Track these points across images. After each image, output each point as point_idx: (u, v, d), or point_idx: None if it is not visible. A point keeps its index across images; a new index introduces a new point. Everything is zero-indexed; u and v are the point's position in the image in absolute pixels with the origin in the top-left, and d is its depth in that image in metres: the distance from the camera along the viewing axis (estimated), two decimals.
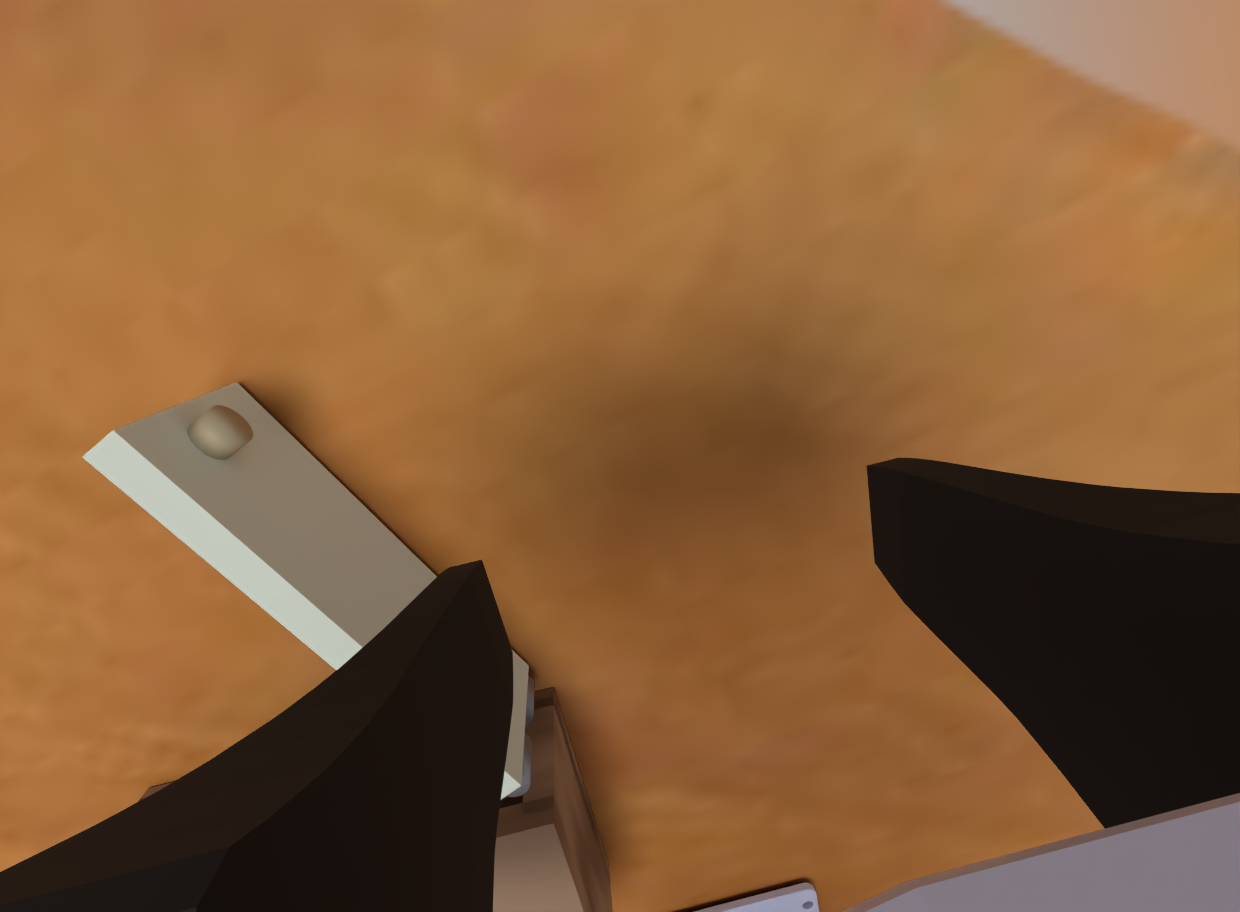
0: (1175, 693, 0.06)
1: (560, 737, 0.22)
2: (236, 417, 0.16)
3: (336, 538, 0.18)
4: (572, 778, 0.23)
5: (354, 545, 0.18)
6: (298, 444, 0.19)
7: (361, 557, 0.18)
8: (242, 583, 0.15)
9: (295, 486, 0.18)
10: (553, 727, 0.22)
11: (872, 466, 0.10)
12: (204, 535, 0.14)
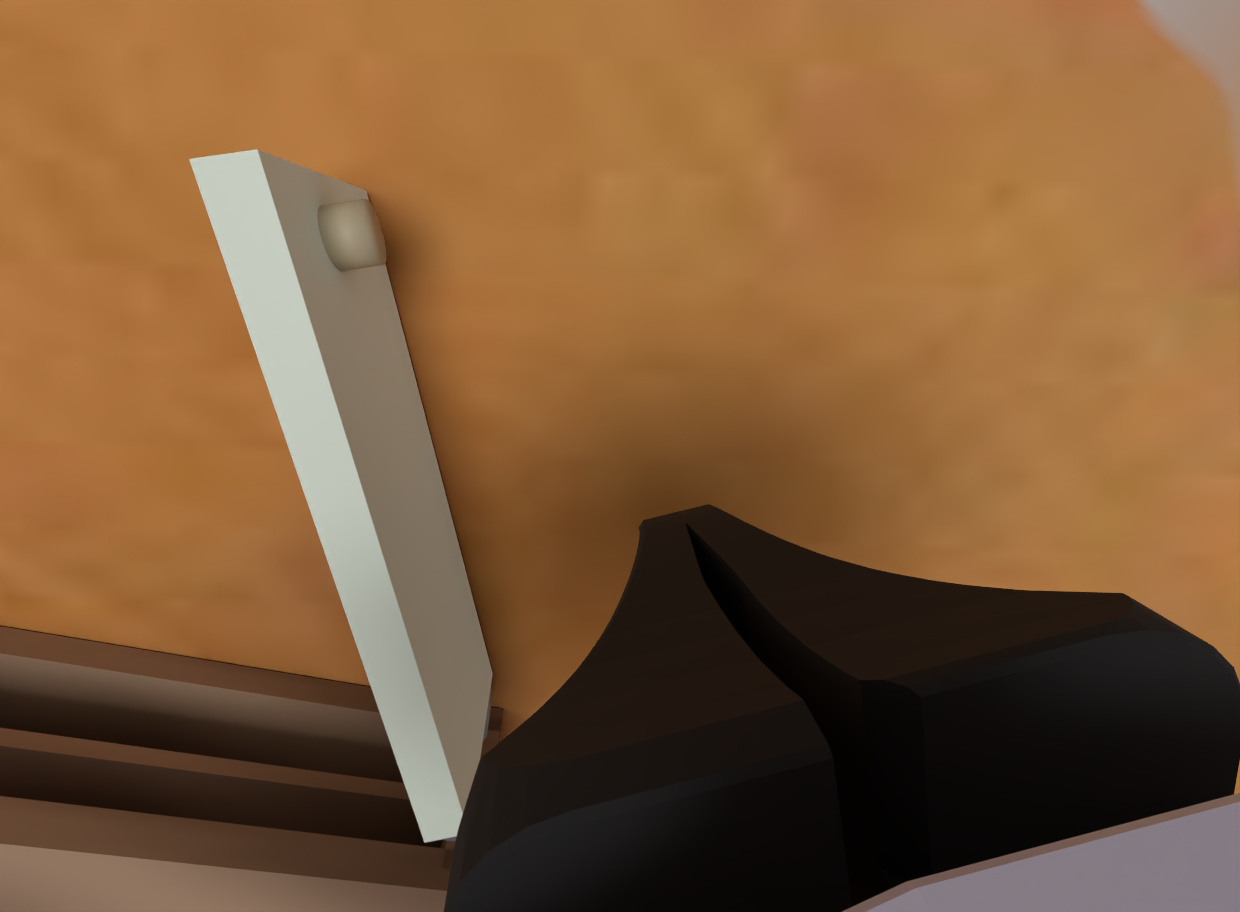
0: None
1: None
2: (378, 228, 0.12)
3: (399, 434, 0.13)
4: None
5: (409, 451, 0.14)
6: (394, 300, 0.15)
7: (411, 470, 0.14)
8: (295, 435, 0.10)
9: (382, 347, 0.13)
10: None
11: (678, 513, 0.10)
12: (286, 350, 0.10)
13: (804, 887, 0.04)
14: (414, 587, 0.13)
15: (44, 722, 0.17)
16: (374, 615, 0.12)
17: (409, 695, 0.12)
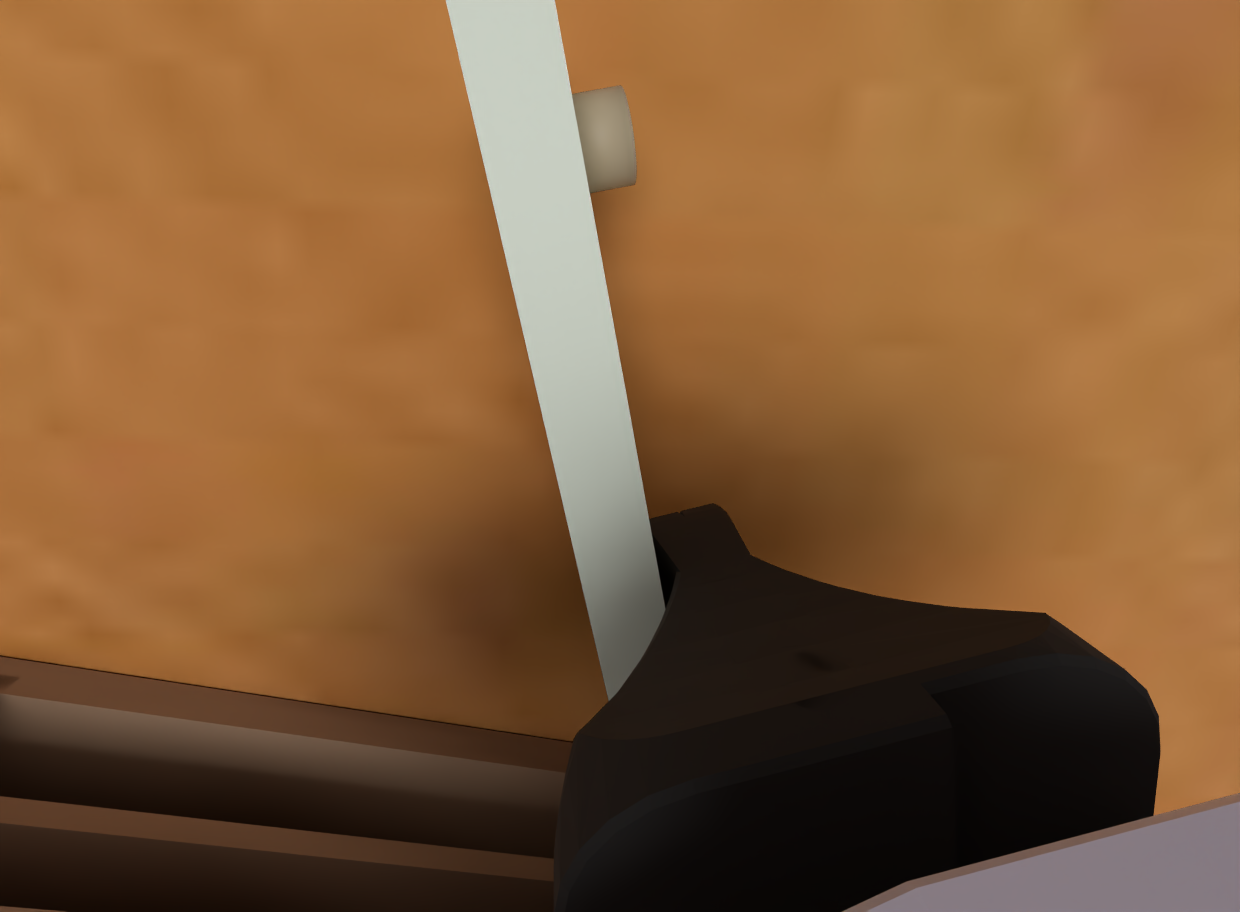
0: None
1: None
2: None
3: None
4: None
5: None
6: None
7: None
8: (560, 426, 0.07)
9: None
10: None
11: None
12: (560, 296, 0.07)
13: (913, 858, 0.04)
14: None
15: (135, 788, 0.13)
16: None
17: None
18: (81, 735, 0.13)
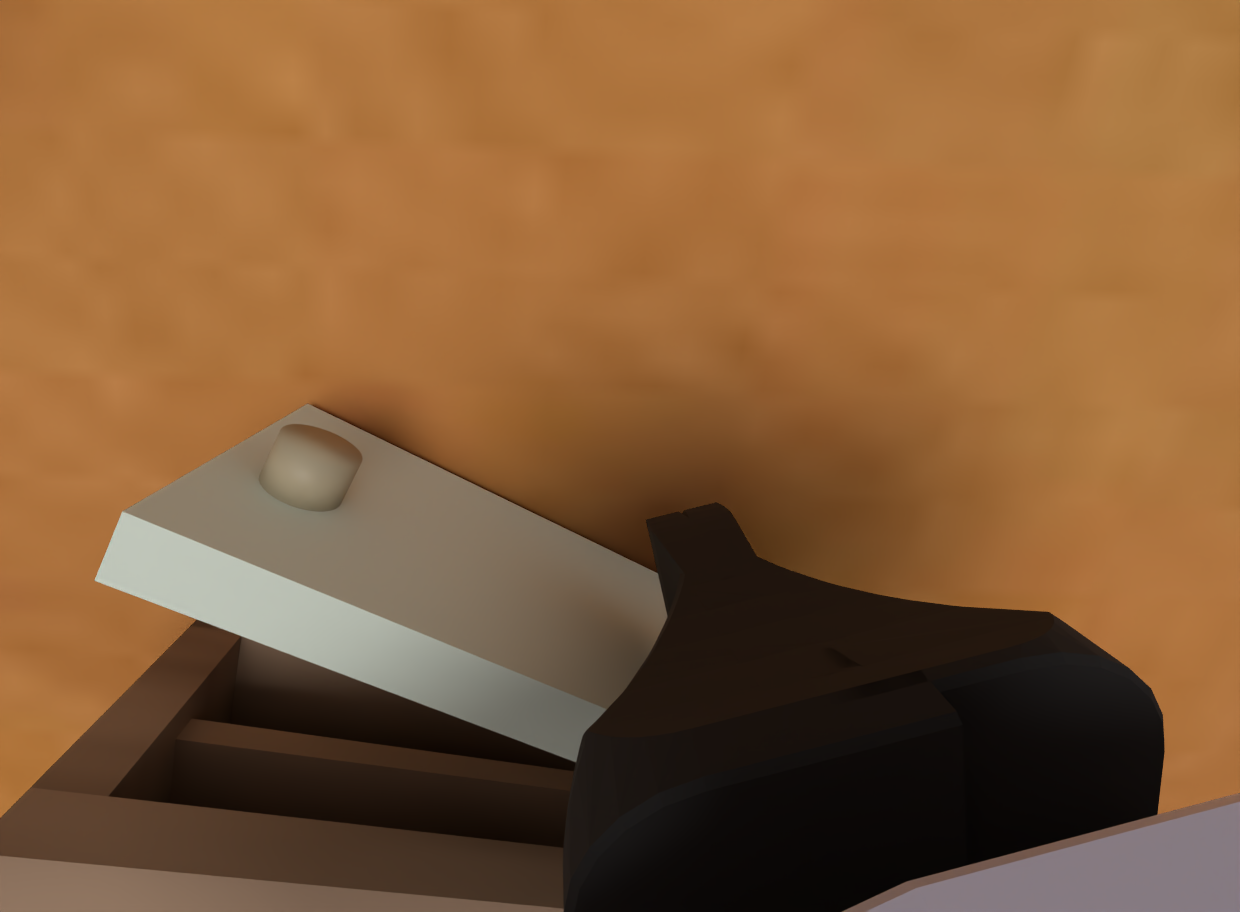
0: None
1: None
2: (325, 436, 0.09)
3: (541, 575, 0.11)
4: None
5: (567, 576, 0.11)
6: (426, 462, 0.13)
7: (585, 590, 0.11)
8: (445, 701, 0.08)
9: (450, 518, 0.11)
10: None
11: (647, 521, 0.10)
12: (353, 643, 0.08)
13: (923, 855, 0.04)
14: None
15: (356, 732, 0.14)
16: None
17: None
18: (311, 678, 0.13)
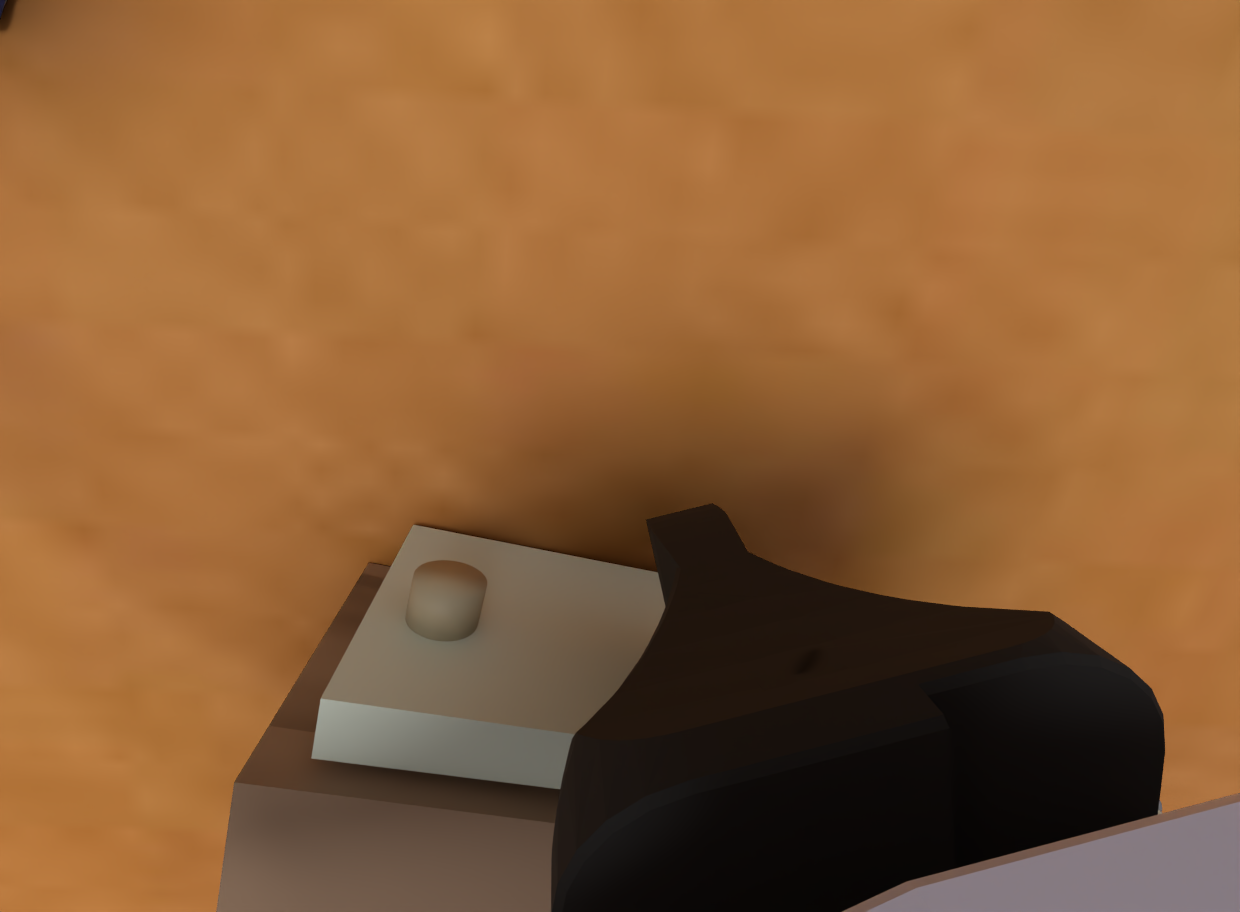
0: None
1: None
2: (449, 566, 0.10)
3: None
4: None
5: None
6: (529, 549, 0.13)
7: None
8: None
9: (570, 603, 0.12)
10: None
11: (647, 521, 0.10)
12: (532, 757, 0.09)
13: (910, 859, 0.04)
14: None
15: None
16: None
17: None
18: None
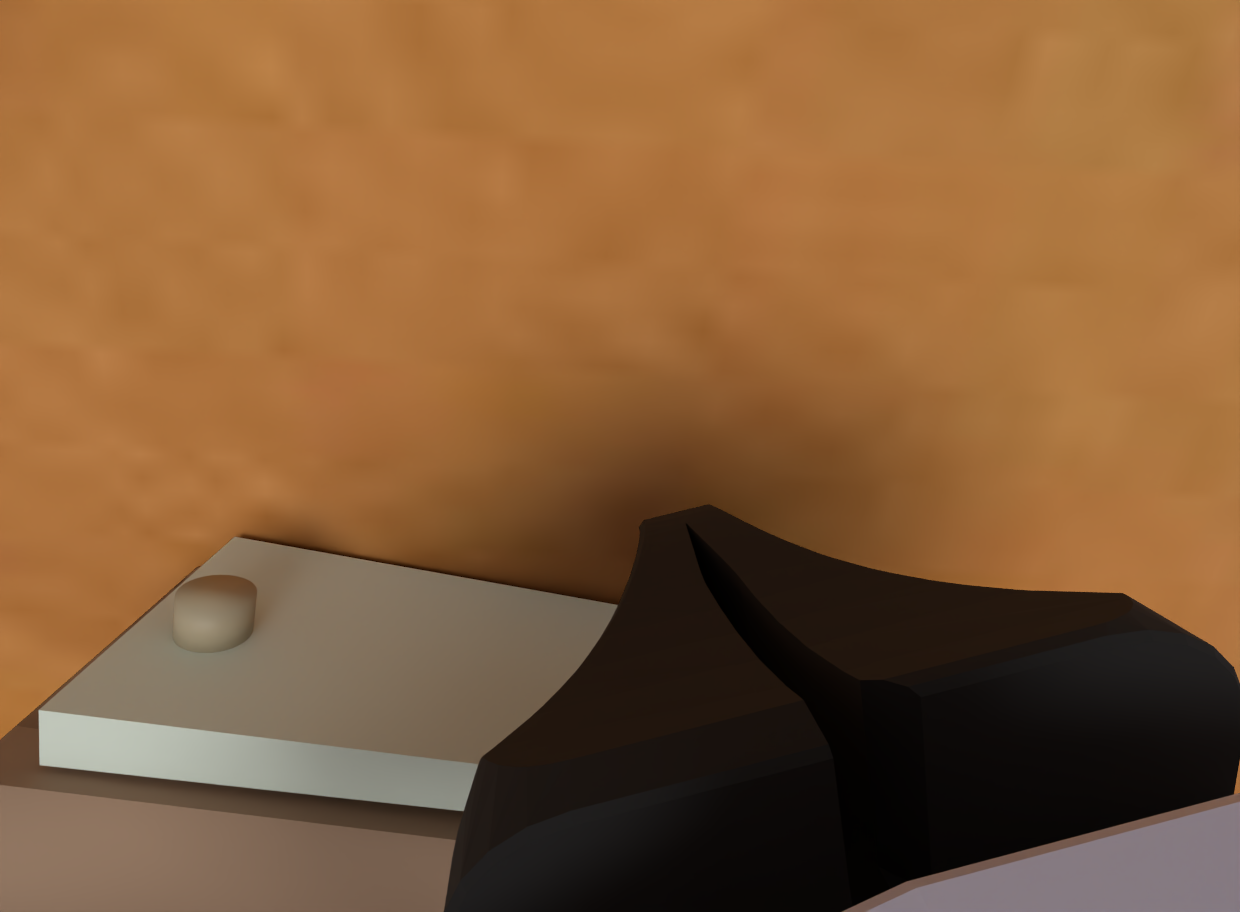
0: None
1: None
2: (223, 581, 0.11)
3: (453, 644, 0.12)
4: None
5: (483, 636, 0.13)
6: (350, 559, 0.14)
7: (500, 645, 0.12)
8: (353, 791, 0.09)
9: (365, 613, 0.12)
10: None
11: (678, 513, 0.10)
12: (259, 763, 0.09)
13: (804, 886, 0.04)
14: None
15: None
16: None
17: None
18: None
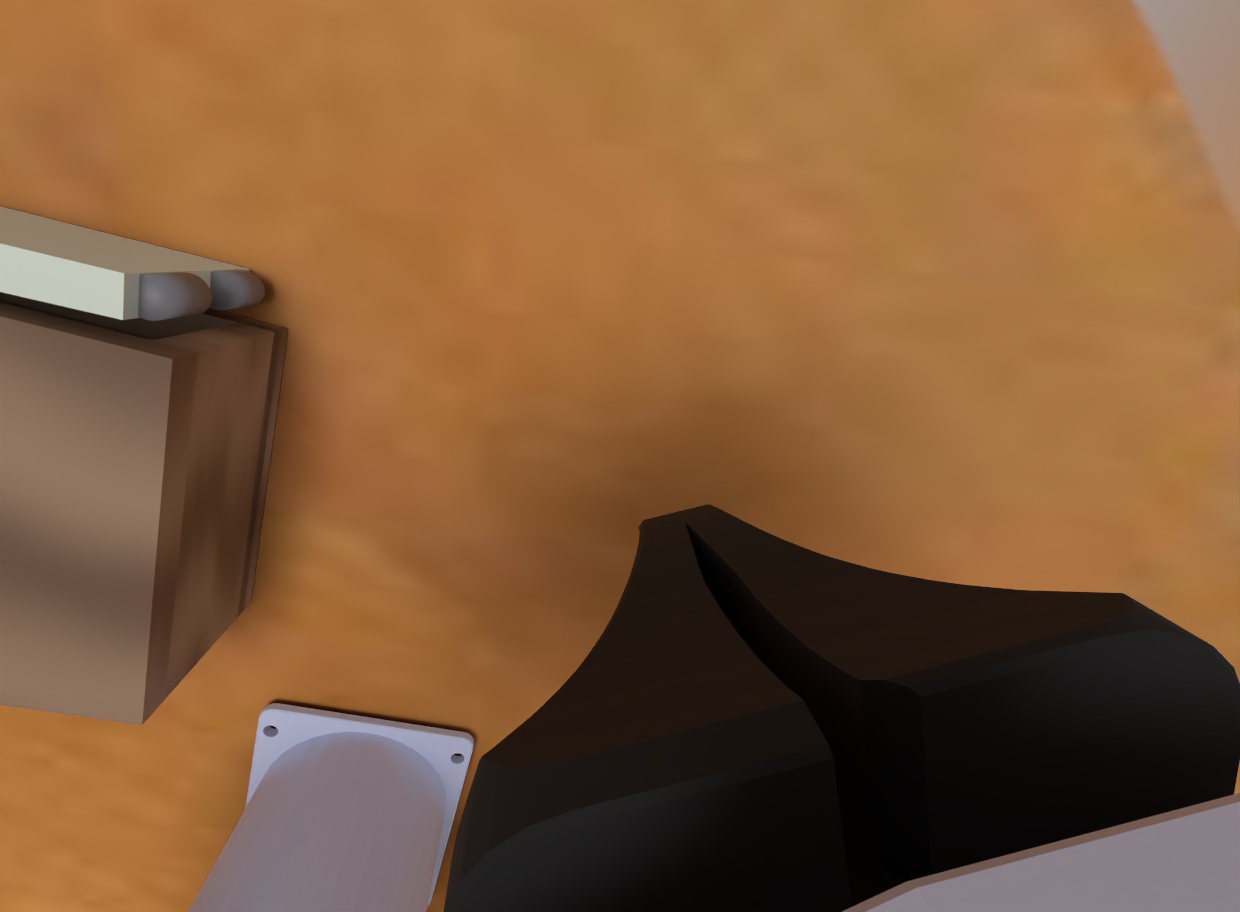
0: None
1: (260, 368, 0.17)
2: None
3: None
4: (251, 430, 0.18)
5: None
6: None
7: None
8: None
9: None
10: (255, 337, 0.17)
11: (678, 514, 0.10)
12: None
13: (803, 887, 0.04)
14: None
15: None
16: None
17: None
18: None
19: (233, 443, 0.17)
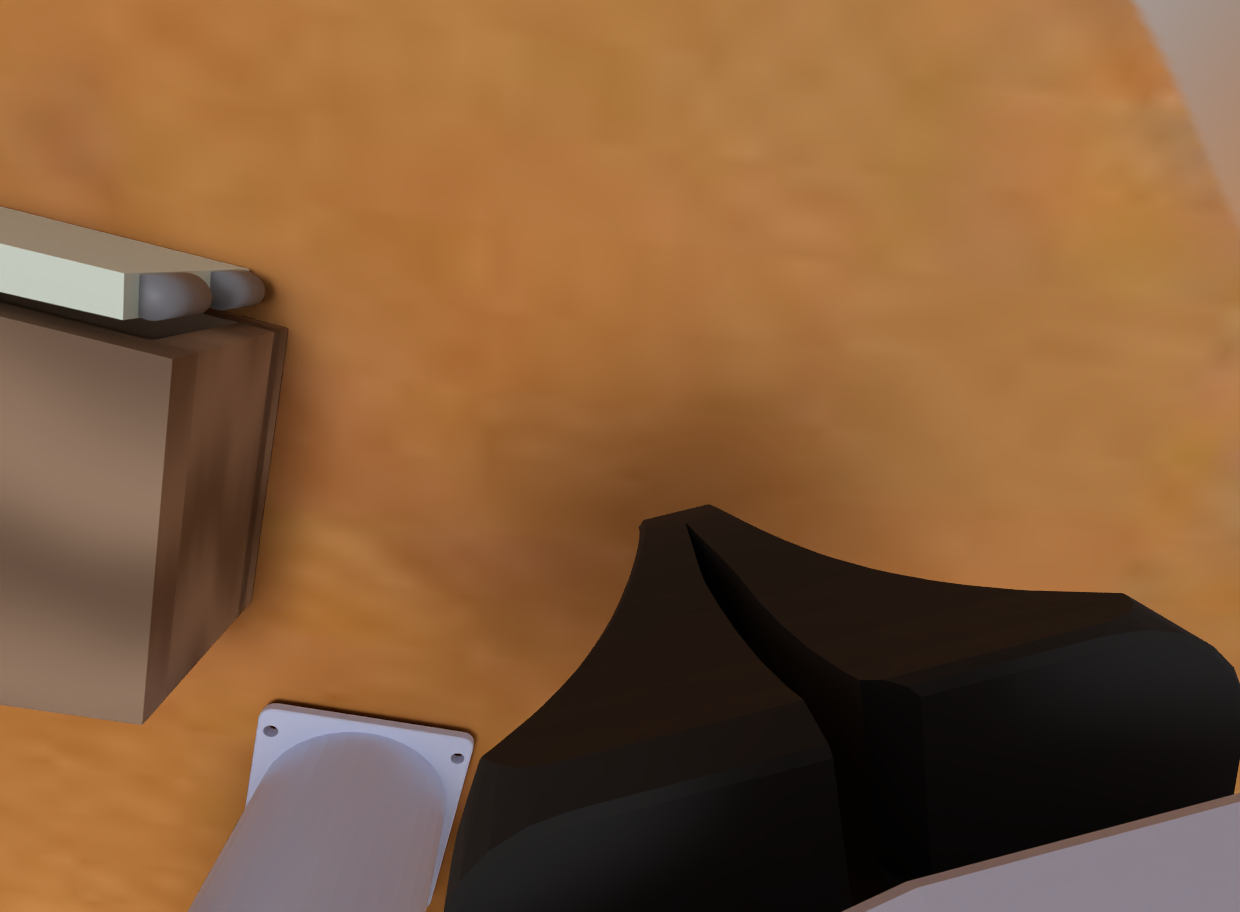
0: None
1: (260, 368, 0.17)
2: None
3: None
4: (251, 430, 0.18)
5: None
6: None
7: None
8: None
9: None
10: (255, 337, 0.17)
11: (678, 514, 0.10)
12: None
13: (803, 887, 0.04)
14: None
15: None
16: None
17: None
18: None
19: (233, 443, 0.17)
